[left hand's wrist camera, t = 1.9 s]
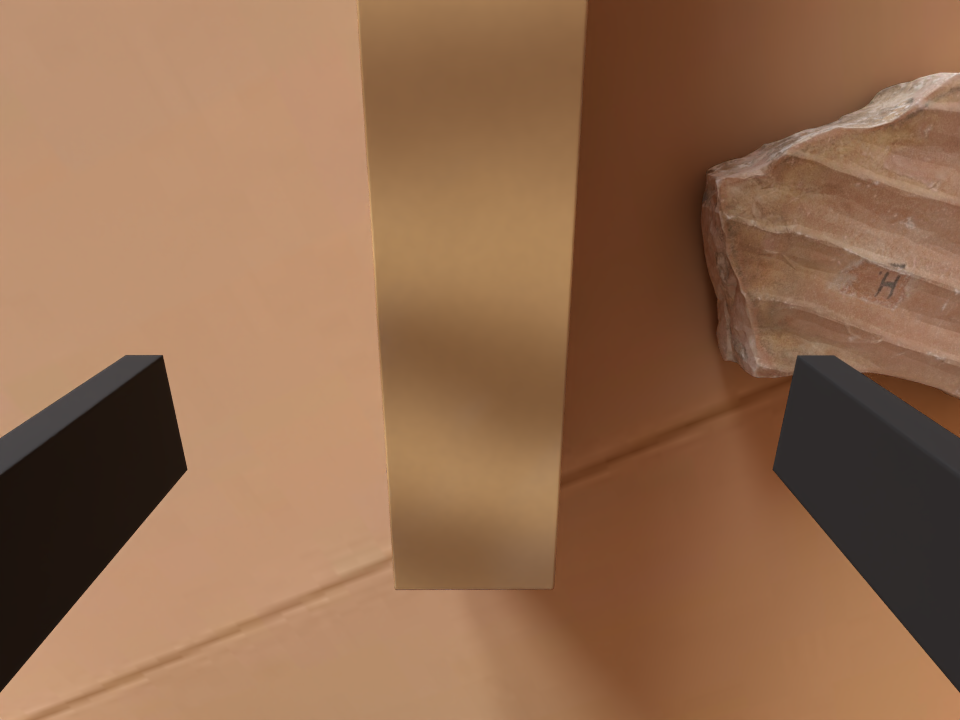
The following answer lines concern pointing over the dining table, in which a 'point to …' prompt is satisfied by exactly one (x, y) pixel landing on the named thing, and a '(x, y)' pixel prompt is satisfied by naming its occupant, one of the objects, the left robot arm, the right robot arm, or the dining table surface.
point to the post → (473, 276)
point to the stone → (845, 241)
